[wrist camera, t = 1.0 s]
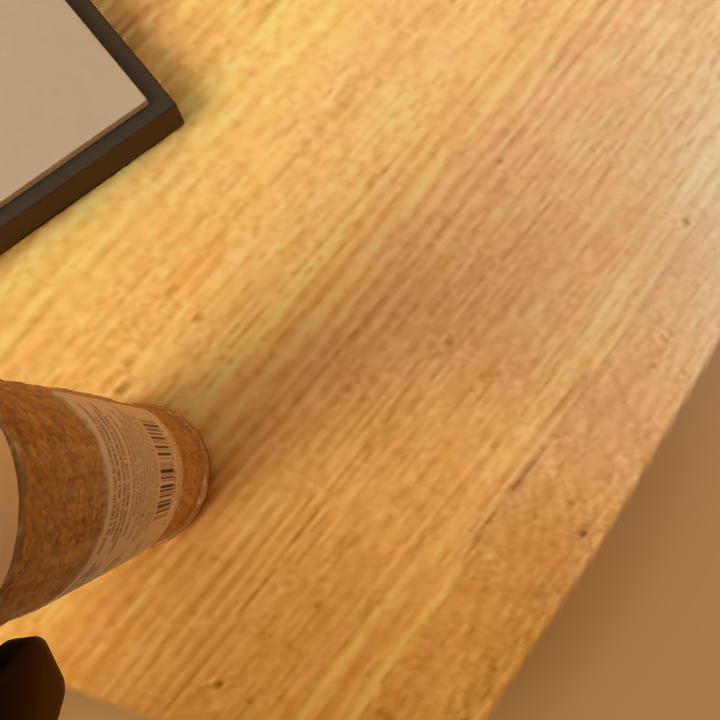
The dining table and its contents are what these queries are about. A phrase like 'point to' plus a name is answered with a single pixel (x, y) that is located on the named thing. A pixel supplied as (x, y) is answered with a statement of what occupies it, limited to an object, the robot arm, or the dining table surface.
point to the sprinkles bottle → (87, 488)
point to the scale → (68, 108)
